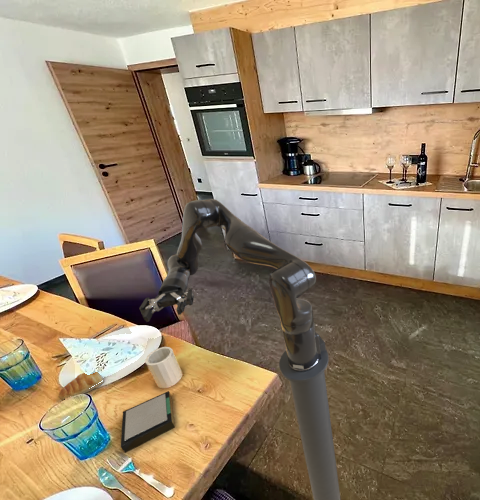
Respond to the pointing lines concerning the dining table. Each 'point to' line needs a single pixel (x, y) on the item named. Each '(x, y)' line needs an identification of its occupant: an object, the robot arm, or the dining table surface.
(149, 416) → the scale
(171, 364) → the cup
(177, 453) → the dining table surface
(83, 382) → the pastry
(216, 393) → the dining table surface
